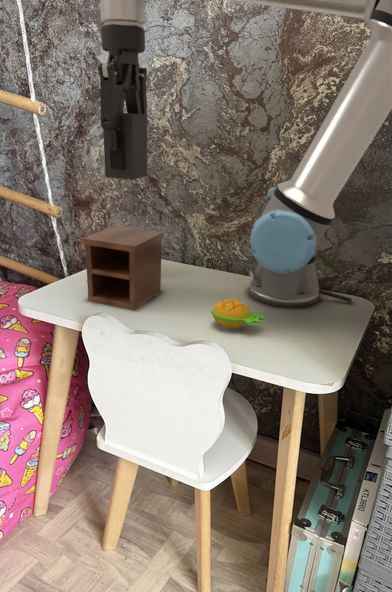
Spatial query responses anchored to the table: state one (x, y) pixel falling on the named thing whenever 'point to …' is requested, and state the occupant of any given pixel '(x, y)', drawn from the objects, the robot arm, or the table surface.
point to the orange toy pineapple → (234, 314)
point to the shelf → (123, 266)
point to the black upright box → (130, 148)
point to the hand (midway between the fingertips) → (126, 166)
